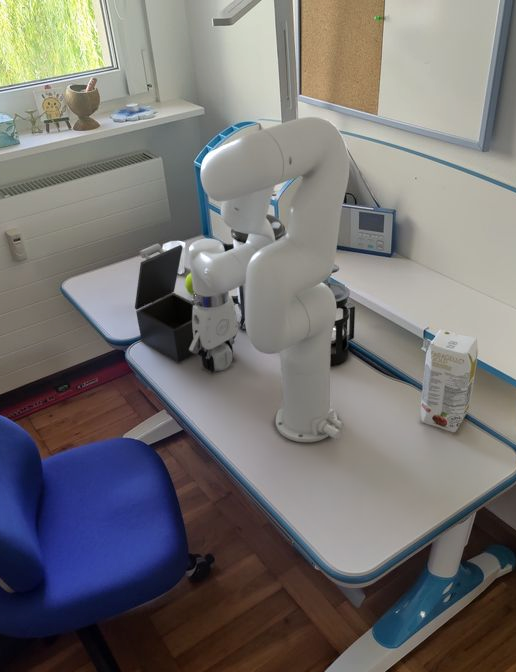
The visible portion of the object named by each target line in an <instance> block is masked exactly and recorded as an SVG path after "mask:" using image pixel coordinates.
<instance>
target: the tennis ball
mask: <svg viewBox="0 0 516 672" xmlns="http://www.w3.org/2000/svg"><path fill="white" fill-rule="evenodd" d="M184 285H185V289H186V291H187V292H188V293H189V294H190V296H193V297H194V293H193V284H192V276H191V272H190V273H189V274H188V275H187V276H186V278H185V281H184Z"/></svg>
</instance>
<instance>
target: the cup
mask: <svg viewBox="0 0 516 672" xmlns="http://www.w3.org/2000/svg"><path fill="white" fill-rule="evenodd" d="M179 245H181V246H182V247H183V248H182V253H181V258H180V263H179V269H178V274H177V275H183V274H184V273H185V263H186V245H187V244H186V242H184V241H181V240H170V241H167V242H165V243H162V250H163V251H164V252H165V251H168V250H170V249H172V248H175V247H177V246H179Z"/></svg>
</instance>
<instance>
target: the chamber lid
mask: <svg viewBox="0 0 516 672" xmlns="http://www.w3.org/2000/svg"><path fill="white" fill-rule="evenodd" d="M182 248H183V247H182V246H181V245H179V246H177V247H175V248H172V249H170V250H168V251H165V252H164V251H163V248H162V246H161V244H159V243H155V244H153V245H150V246H148V247H146V248H144V249H142V250H140V251H139V255H140V257H141V258H142V259H145V260H142V261H140V265H139V273H138V280H137V288H136V293H135V302H134V309H135V310H136V311H137V310H139V309H141V308H143V307H145V306H147V305H149V304H151V303H152V302H154V301H156V300H158V299H160V298H162V297H164V296H166V295H168V294H170V293H175V288H176V285H177V284H176V283H177V278H178V275H179V274H178V269H179V263H180V258H181V253H182ZM156 253H158V254H157V255H156ZM154 254H155V255H154ZM152 255H154V256H152Z"/></svg>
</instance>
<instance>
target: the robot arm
mask: <svg viewBox="0 0 516 672" xmlns="http://www.w3.org/2000/svg"><path fill="white" fill-rule="evenodd" d="M300 177H301V181H300V183H299V184H298V187H297V188H296V190H295V192H294V194H293V195H292V199H291V201H290V204H289V207H288V213H287V214H288V215H287V216H288V217H287V226H286V234H285V236H284V237H283V238H282V239H280V240H279V241H277V242H275V236H274V232H273V229H272V226H271V224H270V223H269V221H268V220H267V218H266V216H267V214H268V212H269V208H270V205H271V201H272V198H273V194H274V190H275V188H276V186H277V185H280V184H283V183H285V182H288V181H291V180H295V179H297V178H300ZM349 177H350V156H349V150H348V147H347V143H346V141H345V139H344V137H343V134H342V132H341V131H340V130H339V129H338V128H337V126H336V125H335V124H334V123H333V122H331V121H330V120H329V119H326V118H324V117H319V116H305V117H300V118H295V119H291V120H289V121H288V120H287V121H285V122H282V123H279V124H275V125H273V126H269V127H266V128H262V129H260V130H256V131H253V132H250V133H247V134H244V135H242V136H240V137H238V138H236V139H234V140H232V141H229V142H227V143H225V144H224V145H221V146H219V147H217V148H215V149H212V150H211V151H209V152H207V154H206V155H205V157H204V158H203V160H202V163H201V165H200V183H201V186H202V188H203V191H204V192H205V193H206V195H207V196H208V197H209V198H210V199H211V200H213V201H216V202H219V203H221V202H222V203H221V206H220V217H221V219H222V221H223V222H224V224H225V225H226V226H227V227H228V228H229V229H230V230H231V229H233V230H235V231H238V232H241V233H246V234H249V235H248V239H247V241H246V243H245V244H243V245H241V246H238V247H236V248H233V249H231V250H229V251H226V252H225V251H224V246H223V244H224V243H222V242H221V241H220V240H218V239H216V238H215V239H214V238H201V239H197V240H195V241H193V242H192V243H191V244H190V246H189V247H188V261H189V269H190V273H191V276H192V284H193V293H194V296H193V298H192V299H191V300H190V301H191V304H192V305H193V312H192V328H193V337H194V339H193V341H192V343H191V346H190V348H189V351H190V352H192V353H195V354H194V355H198V356H200V357H201V362H202V367H203V368H204V369H205V370H207V371H208V372H210V373H214V372H215V370H214V362H213V357H212V356H211V351H212V349H213V348H215V347H216V346H218V345H220V344H222V343H223V342H224V343H226V344H227V345H228V346H229V347H230V349H231V351H232V354H233V355H234V348H233V346H234V344H235V339H236V337H237V335H238V333H239V330H240V327H241V323H240V321H238V314H237V310H236V306H235V303H234V302H233V299H232V297H231V296H232V295H231V294H229V292H230V291H232V290H233V291H234V290H235V289H237V287H239V286H241V285H243V284H245V283H246V294H245V321H244V323H245V325H246V329H245V331H246V334H247V338H248V340H249V341H250V343H251V345H252V346H253V348H255V349H256V350H257V351H259V352H261V353H262V354H265V355H274V354H277V353H280V354H279V357H280V380H281V381H280V382H281V401H282V406H281V407H280V408H279V409H278V410H277V413H276V414H275V418H274V419H275V427H276V429H277V431H278V432H279V433H280V434H281V435H282V436H283V437H285V438H287V439H288V440H290V441H295V442H298V443H315V442H319V441H321V440H324V439H326V438H328V437H331V438H332V439H334V440H338V439H339V438H340V437H341V435H342V431H341V430H342V428H343V427H344V425H345V424H344V422H342V421H341V420H339V419H338V414H337V412H336V411H335V408H333V407H332V406H331V367H330V359H331V354H332V353H331V350H332V348H331V347H332V346H331V338H332V332H333V328H334V323H335V321H336V320H337V319H336V318H337V307H336V300H335V297H334V294H333V292H332V291H331V289H330V288H329V287H328V286H327V285H326V284H324V283H325V281H326V280H327V279H328V277H329V276H330V275H331V276H332V274H333V273H332V270H333V267H334V265H335V262H336V255H337V248H338V247H337V246H338V241H339V240H338V239H339V232H340V226H341V225H340V224H341V214H342V210H343V204H344V200H345V196H346V193H347V188H348V184H349ZM331 273H332V274H331ZM331 276H330V277H331ZM199 344H200V348H198V346H199ZM205 349H206V352H205ZM233 360H234V357H233V358H232V361H233Z"/></svg>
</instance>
